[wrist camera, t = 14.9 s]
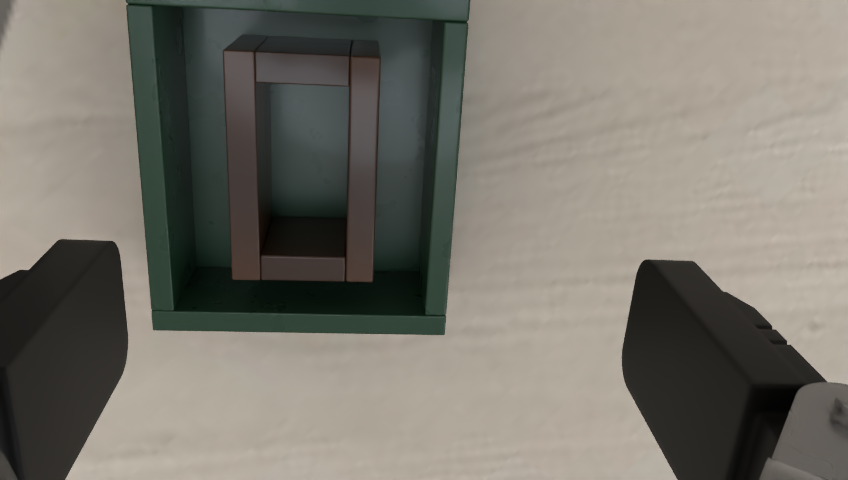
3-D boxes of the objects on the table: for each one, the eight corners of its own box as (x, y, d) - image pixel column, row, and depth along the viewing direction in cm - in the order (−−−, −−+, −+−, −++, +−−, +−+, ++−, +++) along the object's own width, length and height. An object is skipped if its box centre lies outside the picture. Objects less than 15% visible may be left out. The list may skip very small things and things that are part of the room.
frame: (241, 34, 28) (222, 49, 24) (379, 40, 28) (381, 57, 24) (247, 238, 31) (231, 280, 27) (372, 241, 31) (373, 283, 27)
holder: (160, -31, 27) (123, -24, 23) (454, -14, 28) (471, -4, 24) (181, 277, 32) (153, 330, 27) (434, 283, 33) (444, 335, 28)
